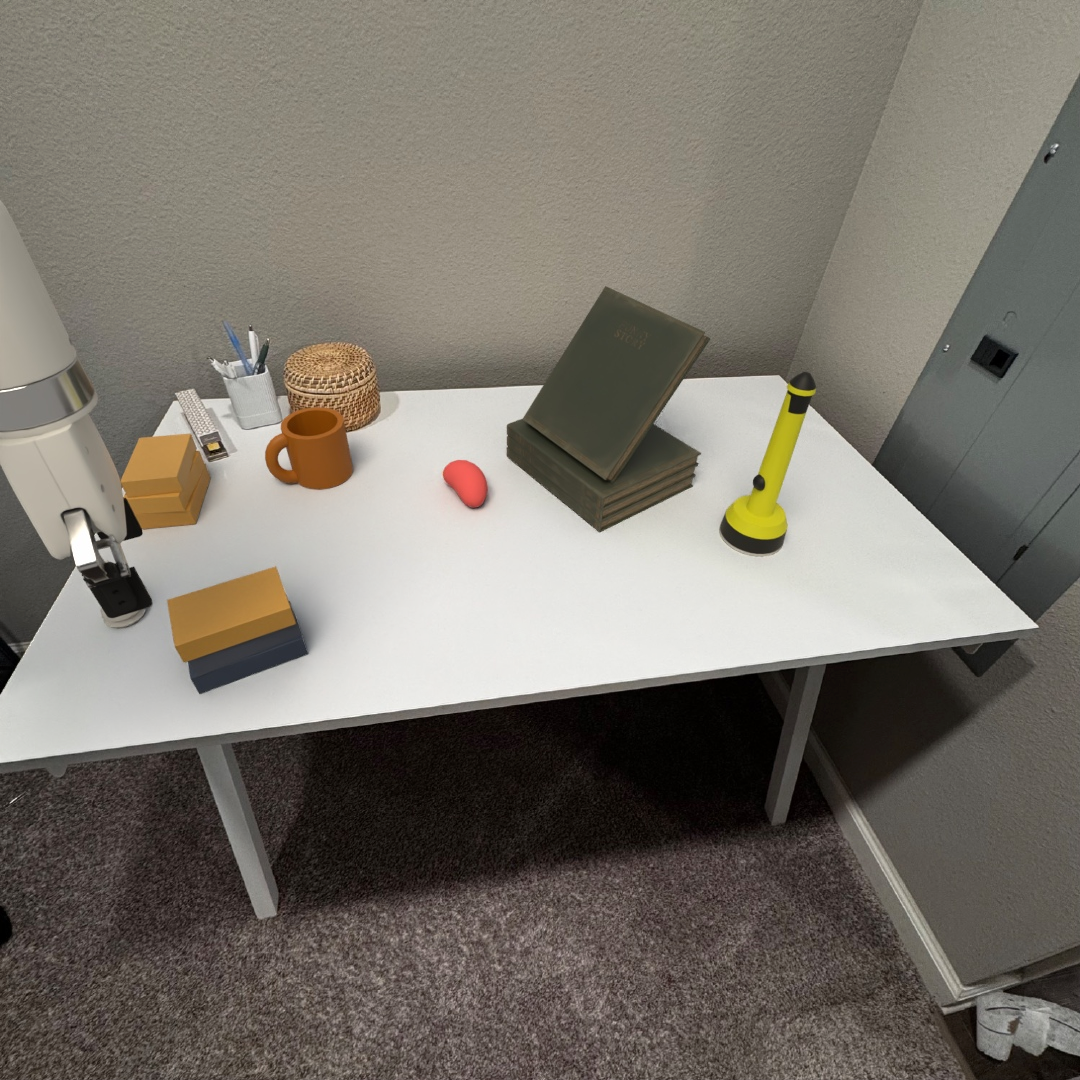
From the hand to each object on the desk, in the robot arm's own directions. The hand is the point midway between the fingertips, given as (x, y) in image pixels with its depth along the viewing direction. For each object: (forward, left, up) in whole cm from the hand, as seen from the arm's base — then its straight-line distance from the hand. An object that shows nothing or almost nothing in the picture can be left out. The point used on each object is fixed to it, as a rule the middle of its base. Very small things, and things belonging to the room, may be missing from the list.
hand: (127, 572), depth 53 cm
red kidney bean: (+40, +20, -19) cm, 48 cm away
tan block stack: (+2, +37, -19) cm, 41 cm away
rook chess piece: (-6, +16, -19) cm, 25 cm away
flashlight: (+72, -7, -19) cm, 75 cm away
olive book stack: (+61, +16, -19) cm, 66 cm away
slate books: (+6, +4, -19) cm, 20 cm away
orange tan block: (+6, +4, -13) cm, 15 cm away
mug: (+21, +35, -19) cm, 45 cm away
